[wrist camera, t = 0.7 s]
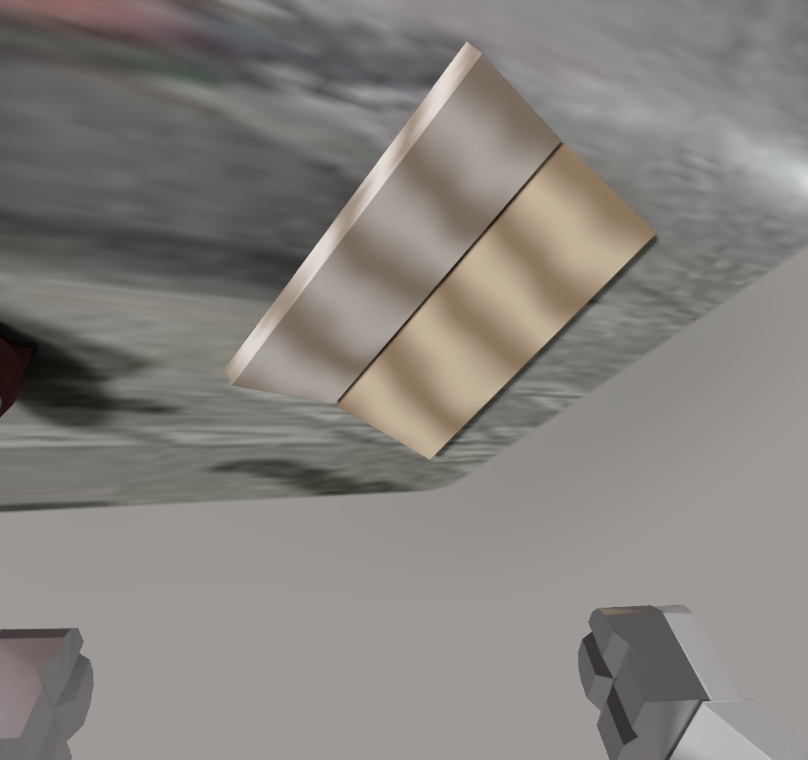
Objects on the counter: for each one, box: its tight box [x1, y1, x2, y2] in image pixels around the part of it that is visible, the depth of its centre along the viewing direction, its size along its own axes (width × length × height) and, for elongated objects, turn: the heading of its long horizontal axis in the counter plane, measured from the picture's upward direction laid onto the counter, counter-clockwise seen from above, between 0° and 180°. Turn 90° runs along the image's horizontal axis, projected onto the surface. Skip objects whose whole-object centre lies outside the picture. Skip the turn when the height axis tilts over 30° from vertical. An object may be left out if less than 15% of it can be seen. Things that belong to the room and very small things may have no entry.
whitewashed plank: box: [225, 42, 561, 404], centre depth 41 cm, size 26×10×2 cm, turn 141°
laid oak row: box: [338, 142, 656, 459], centre depth 47 cm, size 26×10×2 cm, turn 141°
